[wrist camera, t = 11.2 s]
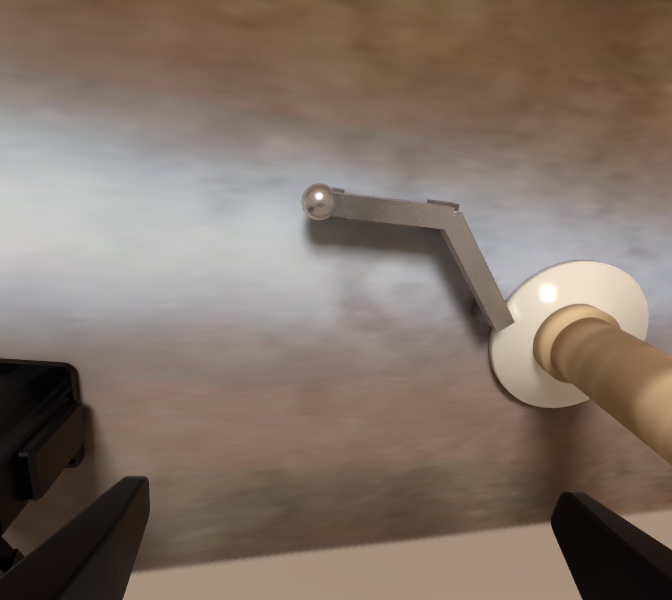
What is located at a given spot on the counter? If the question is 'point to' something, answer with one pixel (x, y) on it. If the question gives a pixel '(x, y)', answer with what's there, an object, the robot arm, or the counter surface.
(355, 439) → the counter surface
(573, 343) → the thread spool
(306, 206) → the rail
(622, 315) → the coaster
